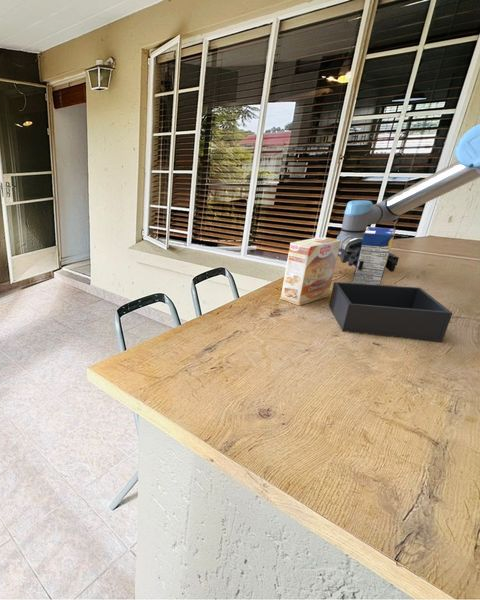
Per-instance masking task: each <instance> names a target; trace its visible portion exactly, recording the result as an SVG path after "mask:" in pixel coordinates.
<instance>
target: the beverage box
mask: <svg viewBox="0 0 480 600" xmlns="http://www.w3.org/2000/svg"><path fill="white" fill-rule="evenodd" d="M396 230H397V228H389V227H375V226H373V227H372V226H367V228H366V231H365V233H364V236H363V240H362V245H361V249H360V253H359V257H358V261H357V265H356V267H355V268H354V274H353V278H352V282H351V283H355V284H370V285H382V281H383V277H384V274H385V270H386V267H385V266H386V263H387V259H388V256H389V253H391V249H392V245H393V242H394V238H395V234H396ZM360 261H363V266H362V270H358V267H359V263H360Z"/></svg>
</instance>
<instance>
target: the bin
mask: <svg viewBox="0 0 480 600" xmlns="http://www.w3.org/2000/svg"><path fill="white" fill-rule="evenodd" d="M328 307H329V309H330V311H331V313H332V314H333V317H334V316H335V317H334V318H335V320H336V322H337V324H338V326H339V325H340V326H339V328H340V327H341V328H340V330H341V329H342V330H341V332H345V331H349V332H348V333H354V332H359V333H358V334H363V333H368V334H367V335H372V334H374V335H373V336H381V335H383V336H384V337H390V336H394V337H393V338H399V337H403V338H402V339H408V338H410V339H409V340H417V339H418V341H426V340H427V341H428V342H435V341H436V342H435V343H437V342H438V343H443V340H444V337H445V336H446V332H447V330H448V327H449V324H450V322H451V319H452V316H453V312H452V311H451V310H450V309H448V308H447V307H445V306H444V305H443V304H441V303H440V302H439V301H438V300H437V299H435V298H434V297H433V296H431V295H430V294H429V293H428V292H427V291H425V290H424V289H423V288H421V287H417V286H416V287H415V286H401V285H400V286H399V285H382V284H381V285H370V284H355V283H352V282H339V281H338V282H337V281H333V284H332V289H331V294H330V297H329V303H328ZM383 336H382V337H383Z"/></svg>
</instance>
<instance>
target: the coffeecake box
mask: <svg viewBox="0 0 480 600" xmlns="http://www.w3.org/2000/svg"><path fill="white" fill-rule="evenodd" d="M340 242H341V240H338V239H337V238H332V237H326V236H316V237H313V238H307V239H302V240H297V241H293V242H292V241H291V242H290V243H289V248H288V254H287V260H286V266H285V271H284V272H285V273H284V278H283V282H282V289H281V294H280V300H282V301H285V302H287V303H290V304H293V305H297V306H303V305H305V304H309V303H312V302H316V301H318V300H322V299H324V298H327V297H329V294H330V290H331V285H332V281H333V276H334V272H335V268H336V263H337V259H338V252H339V246H340Z"/></svg>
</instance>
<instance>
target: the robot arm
mask: <svg viewBox="0 0 480 600" xmlns="http://www.w3.org/2000/svg"><path fill="white" fill-rule="evenodd" d="M454 157H455V160H456V161H455V162H453V163H451V164H450V165H448V166H446V167H444V168H442V169H440V170H438V171H436V172H435V173H432V174H431V175H429V176H427V177H425V178H423V179H421V180H419V181H417V182H416V183H414V184H412V185H409V186H408V187H407V188H404V189H402V190H401V191H398V192H397V193H395V194H393V195H391V196H390V197H388V198H386V199H384V200H382V201H379V202H378V203H373V202H372V200H367V199H366V200H361V199H358V200H356V199H355V200H350V201H348V202H347V203H346V207H345V210H344V214H343V220H342V224H341V228H340V233H339V235H337V237H336V239H338V240H341V242H340V246H339V251H338V255H337V257H339V258H340V262H341V263H342V264H346V263H347V262H348V263H347V266H349V267H353V266H354V267H355V268H356V265H357V261H358V257H359V253H360V249H361V245H362V240H363V236H364V233H365V231H366V230H367V228H368V226H371V225H378V224H386V223H390V222H393V221H394V220H397V219H398V218H399V216H401V215H403V214H405V213H407V212H409V211H412V210H414V209H415V208H418V207H420V206H422V205H425V204H427V203H428V202H430V201H433V200H435V199H437V198H439V197H441V196H443V195H446V194H448V193H449V192H452V191H454V190H456V189H458V188H460V187H462V186H464V185H467V184H469V183H471V182H473V181H475V180H477V179H479V178H480V123H479V124H477V125H475V126H473V127H471V128H470V129H468V130H467V131H466V132H465V133H464V134H463V135H461V137H460V138H459V140H458V142H457V144H456V147H455V150H454ZM399 257H400V256H399ZM399 257H398V256H397V255H394V254H393V253H391V252H390V253H389V256H388V259H387V263H386V266H385V269H387V270H388V271H389V272H391V273H394V272H395V269H396V266H397V265H398V262H399V259H400V258H399ZM362 266H363V261H360V263H359V267H358V270H362Z"/></svg>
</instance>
